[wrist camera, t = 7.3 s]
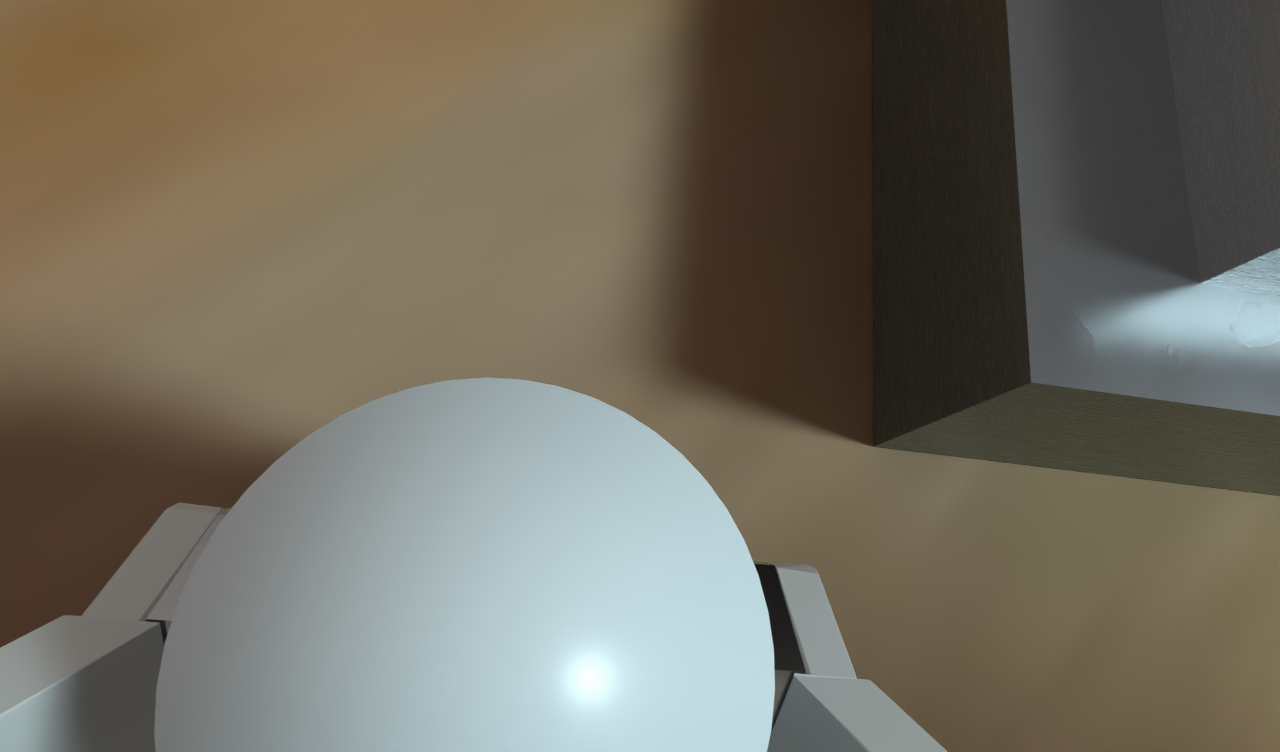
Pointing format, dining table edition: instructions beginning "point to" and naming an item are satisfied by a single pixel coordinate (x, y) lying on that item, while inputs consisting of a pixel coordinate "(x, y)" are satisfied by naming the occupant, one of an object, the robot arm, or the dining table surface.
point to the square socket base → (1080, 235)
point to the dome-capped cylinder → (472, 591)
